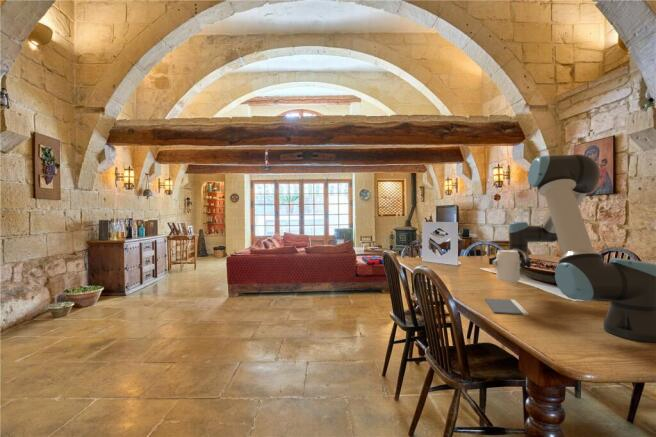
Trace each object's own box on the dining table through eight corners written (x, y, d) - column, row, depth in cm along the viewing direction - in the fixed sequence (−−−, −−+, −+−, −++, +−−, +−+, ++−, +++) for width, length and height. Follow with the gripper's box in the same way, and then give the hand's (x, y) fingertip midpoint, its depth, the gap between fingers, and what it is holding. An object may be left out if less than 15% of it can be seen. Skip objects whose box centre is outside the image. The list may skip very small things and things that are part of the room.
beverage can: (499, 282, 130) (498, 252, 130) (494, 278, 138) (494, 249, 138) (522, 283, 128) (522, 252, 128) (516, 278, 136) (515, 249, 136)
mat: (528, 315, 125) (528, 313, 125) (493, 313, 128) (493, 311, 128) (514, 301, 144) (514, 299, 144) (484, 299, 147) (484, 298, 147)
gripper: (542, 268, 141) (536, 277, 123) (489, 264, 154) (477, 272, 136) (542, 251, 141) (536, 257, 123) (489, 248, 153) (477, 254, 135)
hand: (505, 265), depth 129 cm, fingers closed on beverage can, 8 cm apart
